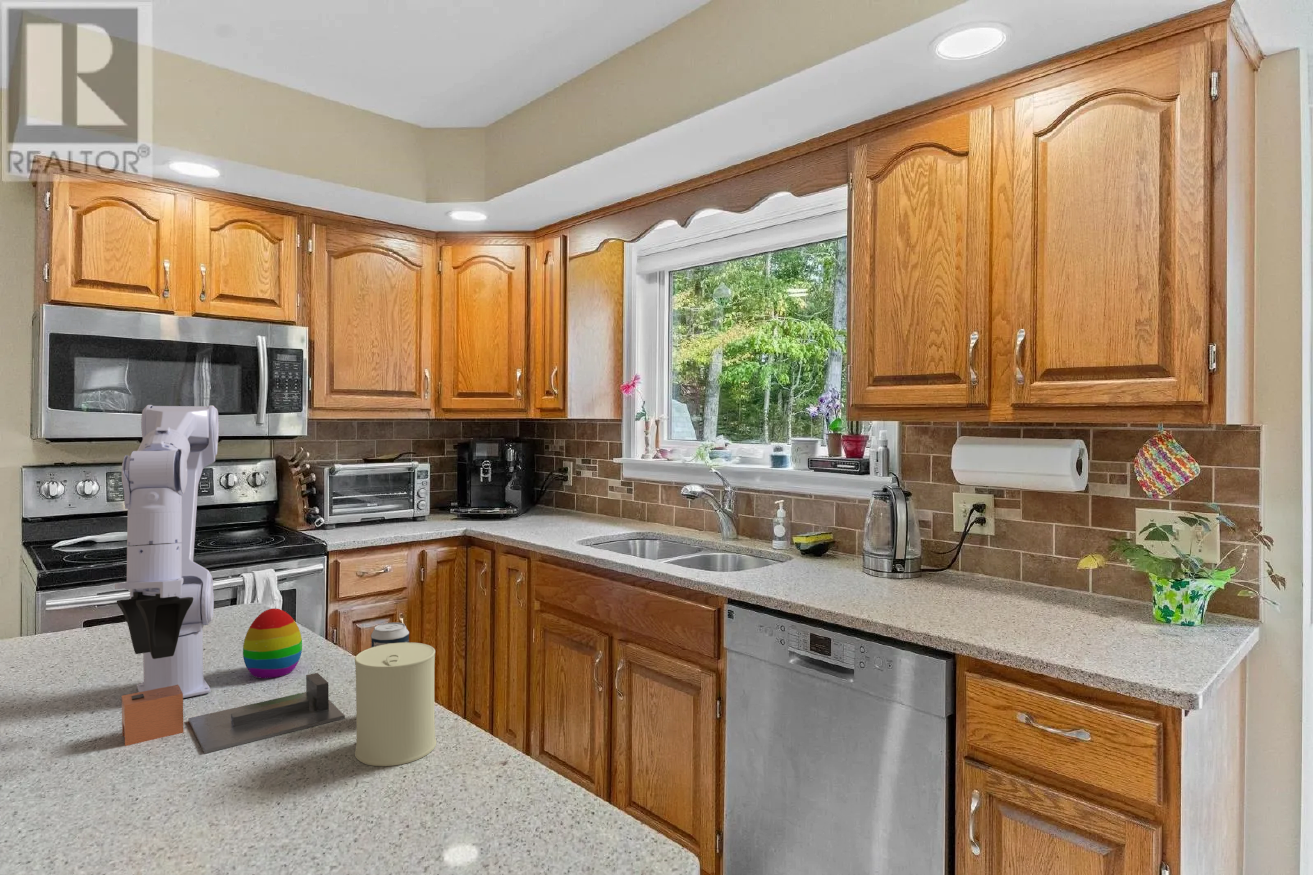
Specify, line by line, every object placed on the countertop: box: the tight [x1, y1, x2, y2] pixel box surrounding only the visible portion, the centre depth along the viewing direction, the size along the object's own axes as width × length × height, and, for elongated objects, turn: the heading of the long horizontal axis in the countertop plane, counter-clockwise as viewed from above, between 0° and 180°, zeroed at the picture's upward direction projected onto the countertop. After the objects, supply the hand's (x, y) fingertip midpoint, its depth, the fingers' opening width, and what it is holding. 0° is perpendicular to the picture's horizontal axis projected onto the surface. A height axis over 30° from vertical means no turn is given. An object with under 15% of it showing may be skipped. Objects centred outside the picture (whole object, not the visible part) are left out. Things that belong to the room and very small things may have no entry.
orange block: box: [121, 685, 184, 747], centre depth 93 cm, size 4×6×5 cm, turn 130°
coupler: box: [187, 672, 346, 754], centre depth 97 cm, size 12×16×4 cm
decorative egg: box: [242, 607, 303, 679], centre depth 115 cm, size 8×8×10 cm
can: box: [354, 641, 437, 767], centre depth 89 cm, size 9×9×12 cm
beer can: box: [370, 622, 410, 648], centre depth 99 cm, size 5×5×12 cm
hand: (153, 655), depth 92 cm, fingers open, 7 cm apart
